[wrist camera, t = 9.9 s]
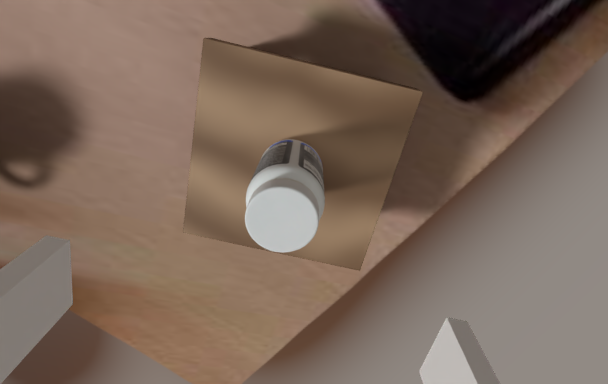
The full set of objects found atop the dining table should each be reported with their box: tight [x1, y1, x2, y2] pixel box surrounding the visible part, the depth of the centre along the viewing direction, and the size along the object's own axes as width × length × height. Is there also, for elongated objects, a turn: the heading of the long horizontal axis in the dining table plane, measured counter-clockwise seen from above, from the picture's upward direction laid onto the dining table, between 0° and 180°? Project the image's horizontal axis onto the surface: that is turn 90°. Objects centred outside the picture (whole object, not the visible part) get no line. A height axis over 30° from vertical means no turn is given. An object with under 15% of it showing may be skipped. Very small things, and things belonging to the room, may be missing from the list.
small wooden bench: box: [183, 38, 423, 271], centre depth 30 cm, size 15×15×8 cm
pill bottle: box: [245, 139, 325, 253], centre depth 23 cm, size 5×5×8 cm
